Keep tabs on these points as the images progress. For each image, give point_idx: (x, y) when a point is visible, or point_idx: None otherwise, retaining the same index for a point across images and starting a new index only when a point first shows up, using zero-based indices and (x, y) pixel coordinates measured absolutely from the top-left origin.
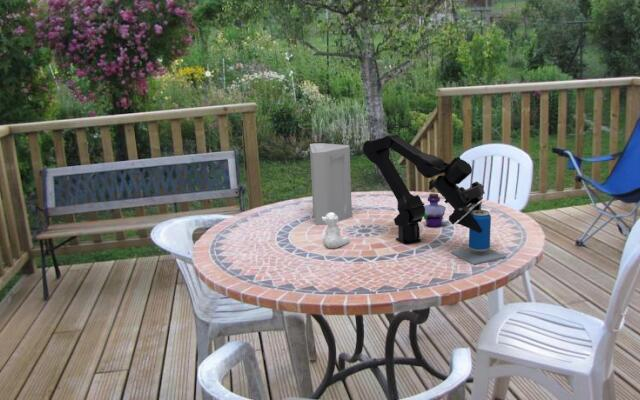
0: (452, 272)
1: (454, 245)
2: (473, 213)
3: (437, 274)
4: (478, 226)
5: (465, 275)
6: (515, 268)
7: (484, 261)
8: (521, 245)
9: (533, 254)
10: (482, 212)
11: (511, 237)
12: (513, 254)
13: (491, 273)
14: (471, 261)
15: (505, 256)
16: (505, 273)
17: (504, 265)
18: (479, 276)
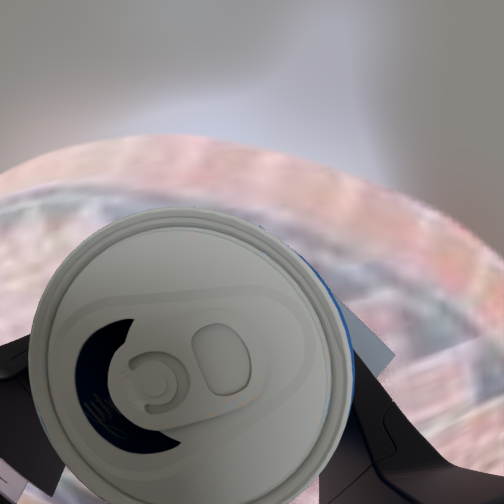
0: (474, 410)
1: None
2: (219, 494)
3: (491, 446)
4: (363, 364)
5: (488, 356)
6: (371, 186)
7: (355, 315)
8: (97, 190)
9: (193, 139)
10: (49, 340)
11: (25, 236)
12: (204, 203)
13: (450, 267)
14: (377, 373)
15: (261, 227)
16: (431, 218)
17: (355, 227)
18: (484, 305)
